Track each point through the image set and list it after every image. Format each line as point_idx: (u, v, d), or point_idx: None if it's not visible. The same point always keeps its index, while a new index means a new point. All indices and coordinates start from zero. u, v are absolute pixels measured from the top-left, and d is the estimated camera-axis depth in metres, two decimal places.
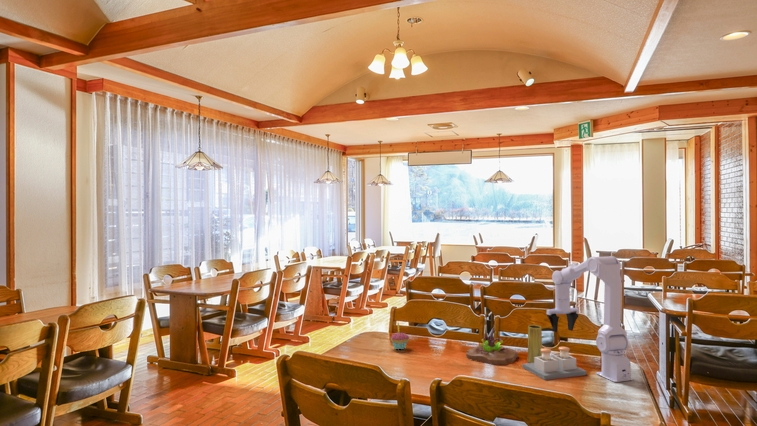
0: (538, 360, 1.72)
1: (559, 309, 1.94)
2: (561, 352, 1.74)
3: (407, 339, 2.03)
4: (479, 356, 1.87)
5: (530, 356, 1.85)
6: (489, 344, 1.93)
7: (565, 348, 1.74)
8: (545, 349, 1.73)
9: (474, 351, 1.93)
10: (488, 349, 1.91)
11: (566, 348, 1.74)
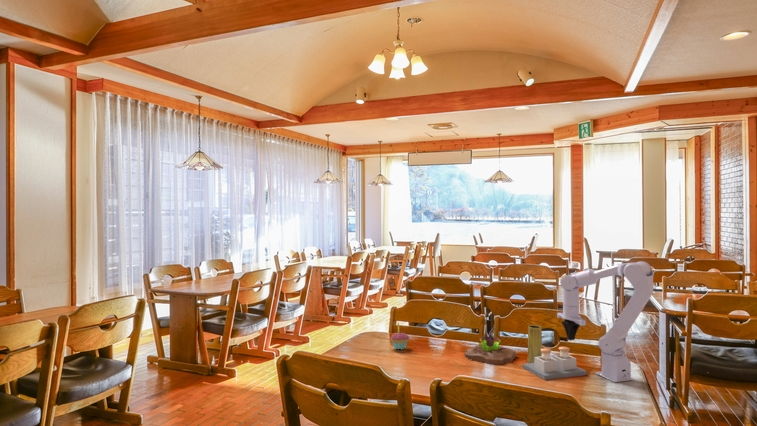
0: (538, 360, 1.72)
1: None
2: (561, 352, 1.74)
3: (407, 339, 2.03)
4: (477, 356, 1.88)
5: (530, 356, 1.85)
6: (487, 344, 1.93)
7: (565, 348, 1.74)
8: (545, 349, 1.73)
9: (472, 351, 1.94)
10: (486, 349, 1.91)
11: (566, 348, 1.74)
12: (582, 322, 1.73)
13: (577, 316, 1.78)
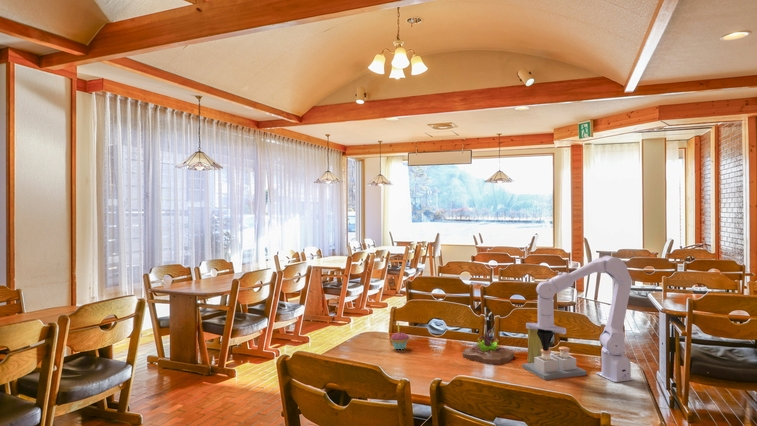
0: (538, 360, 1.72)
1: (537, 324, 1.73)
2: (561, 352, 1.74)
3: (407, 339, 2.03)
4: (474, 355, 1.88)
5: (530, 356, 1.85)
6: (485, 344, 1.93)
7: (565, 348, 1.74)
8: None
9: (470, 350, 1.94)
10: (484, 348, 1.92)
11: (566, 348, 1.74)
12: (565, 330, 1.68)
13: (553, 325, 1.72)
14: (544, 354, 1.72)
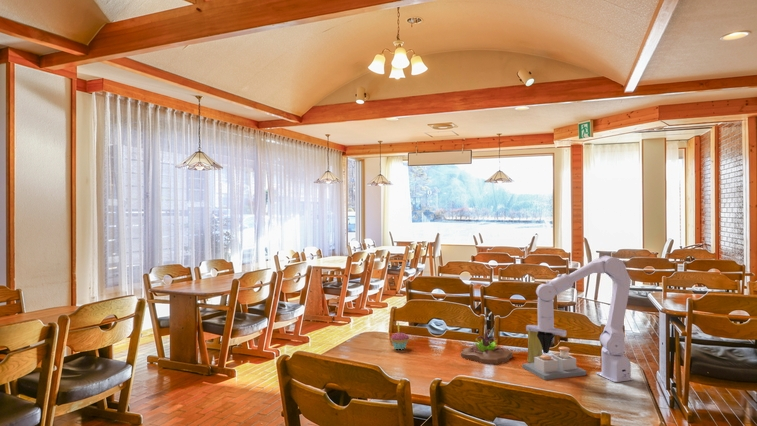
0: (538, 360, 1.72)
1: (537, 326, 1.73)
2: (561, 352, 1.74)
3: (407, 339, 2.03)
4: (472, 355, 1.89)
5: (530, 356, 1.85)
6: (483, 343, 1.93)
7: (565, 348, 1.74)
8: (545, 356, 1.73)
9: (468, 350, 1.94)
10: (482, 348, 1.92)
11: (566, 348, 1.74)
12: (565, 333, 1.68)
13: (553, 327, 1.72)
14: (544, 360, 1.72)
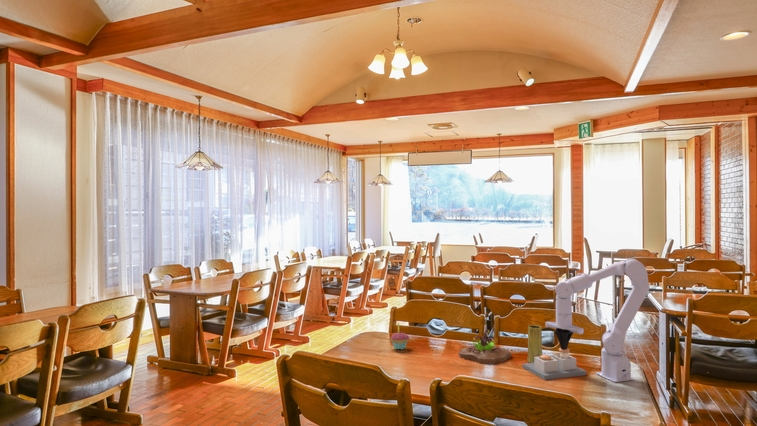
0: (538, 360, 1.72)
1: (555, 323, 1.76)
2: (561, 353, 1.74)
3: (407, 339, 2.03)
4: (470, 355, 1.89)
5: (530, 356, 1.85)
6: (481, 343, 1.94)
7: None
8: (545, 356, 1.73)
9: (466, 350, 1.95)
10: (480, 348, 1.92)
11: (566, 349, 1.74)
12: (581, 330, 1.69)
13: (571, 324, 1.73)
14: (544, 360, 1.72)
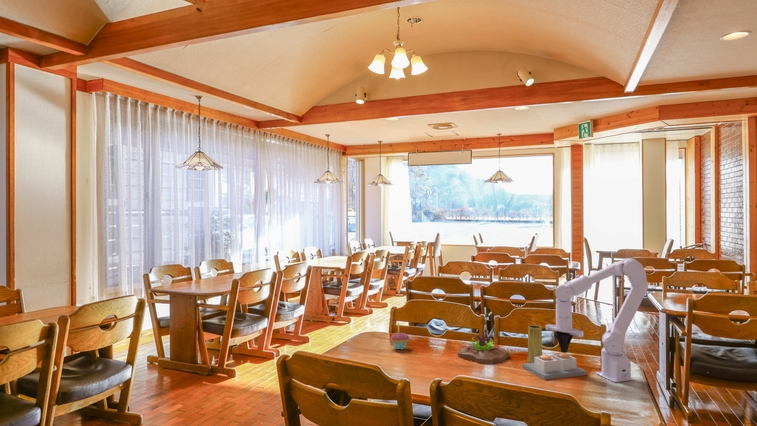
0: (538, 360, 1.72)
1: (555, 326, 1.76)
2: None
3: (407, 339, 2.03)
4: (468, 354, 1.89)
5: (530, 356, 1.85)
6: (480, 343, 1.94)
7: (565, 355, 1.74)
8: (545, 356, 1.73)
9: (465, 350, 1.95)
10: (478, 348, 1.92)
11: (566, 355, 1.74)
12: (581, 333, 1.69)
13: (571, 327, 1.73)
14: (544, 360, 1.72)
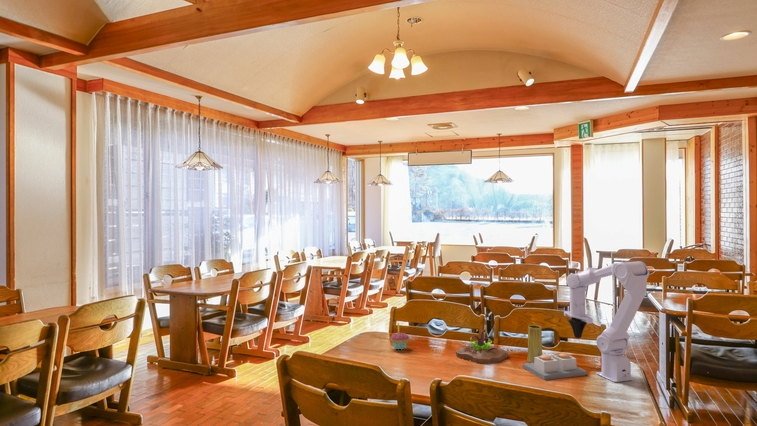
0: (538, 360, 1.72)
1: None
2: None
3: (407, 339, 2.03)
4: (466, 354, 1.90)
5: (530, 356, 1.85)
6: (478, 343, 1.94)
7: (565, 355, 1.74)
8: (545, 356, 1.73)
9: (463, 349, 1.96)
10: (476, 348, 1.93)
11: (566, 355, 1.74)
12: (589, 320, 1.76)
13: (584, 314, 1.81)
14: (544, 360, 1.72)
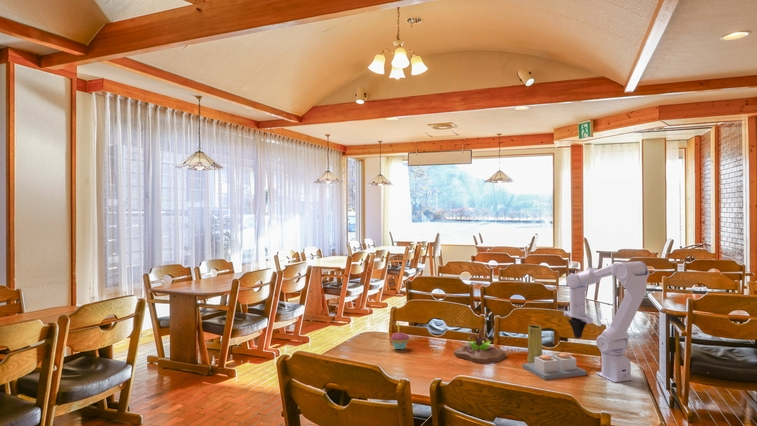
0: (538, 360, 1.72)
1: None
2: None
3: (407, 339, 2.03)
4: (464, 354, 1.90)
5: (530, 356, 1.85)
6: (477, 343, 1.94)
7: (565, 355, 1.74)
8: (545, 356, 1.73)
9: (462, 349, 1.96)
10: (475, 348, 1.93)
11: (566, 355, 1.74)
12: (589, 320, 1.76)
13: (584, 314, 1.81)
14: (544, 360, 1.72)
